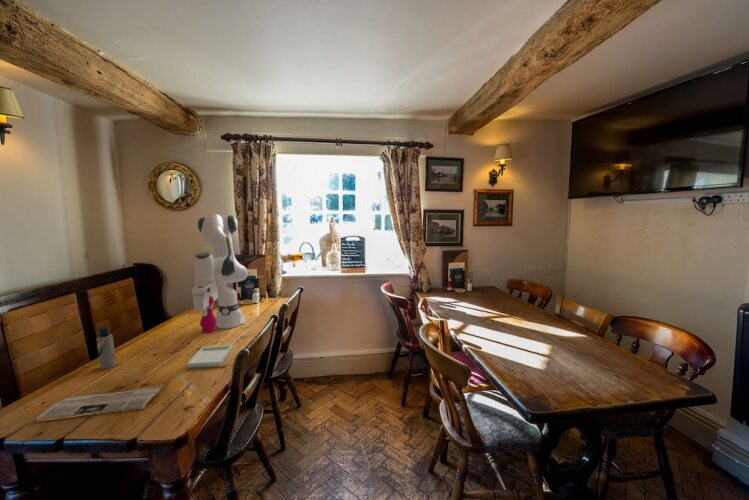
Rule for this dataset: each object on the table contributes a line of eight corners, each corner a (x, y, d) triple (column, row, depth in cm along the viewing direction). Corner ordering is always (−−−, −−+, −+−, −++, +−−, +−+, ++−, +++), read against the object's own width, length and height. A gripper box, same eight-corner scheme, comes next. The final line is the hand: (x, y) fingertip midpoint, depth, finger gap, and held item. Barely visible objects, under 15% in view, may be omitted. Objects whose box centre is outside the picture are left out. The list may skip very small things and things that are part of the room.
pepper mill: (210, 334, 142) (207, 295, 140) (197, 333, 144) (194, 294, 141) (220, 329, 149) (217, 291, 147) (208, 327, 151) (205, 290, 148)
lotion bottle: (115, 362, 145) (111, 323, 142) (116, 366, 141) (111, 326, 138) (100, 366, 141) (94, 326, 138) (100, 370, 137) (95, 330, 134)
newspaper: (35, 424, 103) (34, 415, 103) (64, 401, 115) (63, 393, 115) (149, 409, 111) (148, 400, 110) (165, 390, 123) (164, 382, 123)
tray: (202, 351, 156) (202, 346, 156) (232, 349, 158) (232, 344, 158) (187, 369, 138) (186, 364, 138) (220, 366, 141) (220, 361, 141)
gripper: (207, 281, 153) (209, 307, 155) (189, 292, 133) (191, 321, 135) (220, 281, 154) (221, 306, 156) (204, 291, 134) (206, 320, 136)
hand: (207, 313), depth 145 cm, fingers closed on pepper mill, 5 cm apart
